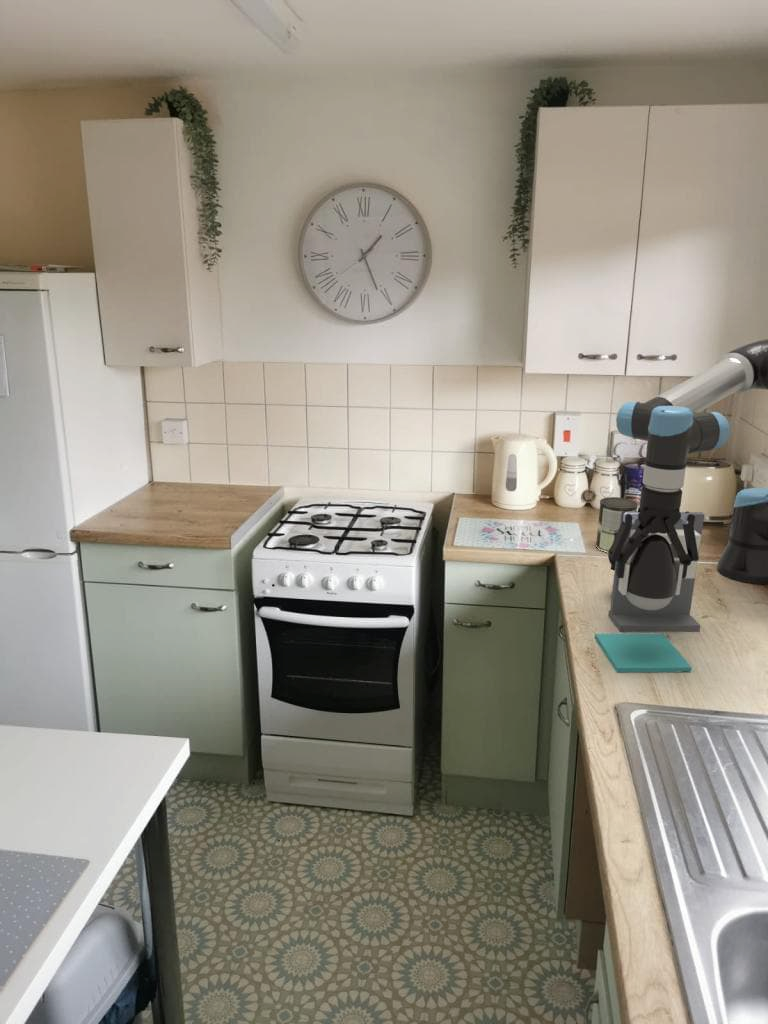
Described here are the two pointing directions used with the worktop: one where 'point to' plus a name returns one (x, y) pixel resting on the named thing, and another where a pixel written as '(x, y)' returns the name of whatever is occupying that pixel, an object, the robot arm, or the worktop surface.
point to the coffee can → (611, 519)
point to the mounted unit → (679, 607)
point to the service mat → (642, 653)
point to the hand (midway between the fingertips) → (648, 592)
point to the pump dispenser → (651, 574)
